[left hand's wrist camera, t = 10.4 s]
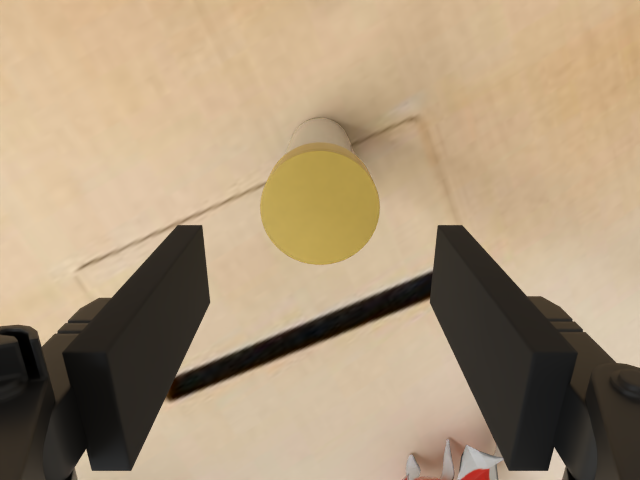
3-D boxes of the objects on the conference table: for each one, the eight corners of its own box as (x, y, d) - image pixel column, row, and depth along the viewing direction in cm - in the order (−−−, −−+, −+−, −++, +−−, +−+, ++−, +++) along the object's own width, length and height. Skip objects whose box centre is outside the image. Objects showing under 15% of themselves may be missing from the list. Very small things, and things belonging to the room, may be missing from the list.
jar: (279, 161, 35) (251, 229, 20) (306, 106, 33) (295, 135, 19) (332, 188, 36) (341, 271, 21) (360, 135, 34) (391, 185, 19)
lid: (248, 218, 22) (241, 234, 20) (295, 121, 20) (292, 128, 18) (341, 262, 23) (344, 282, 21) (393, 173, 21) (402, 185, 19)
